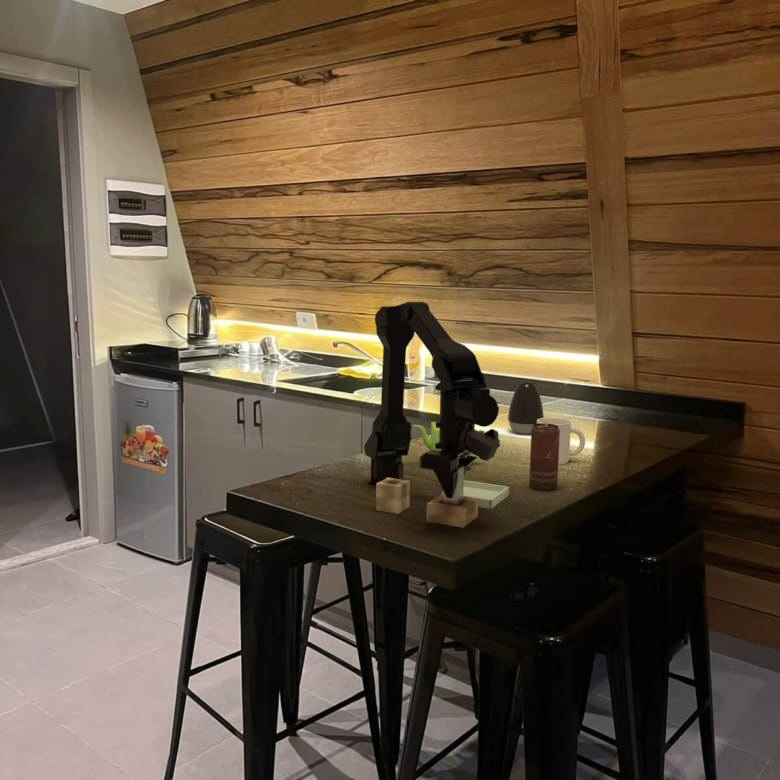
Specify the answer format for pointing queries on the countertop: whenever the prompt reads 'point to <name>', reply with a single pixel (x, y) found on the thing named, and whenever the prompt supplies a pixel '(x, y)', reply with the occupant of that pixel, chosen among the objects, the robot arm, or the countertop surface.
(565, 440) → the mug
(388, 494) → the beech block
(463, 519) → the oak block
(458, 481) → the grey wood bar
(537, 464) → the can
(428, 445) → the kettle
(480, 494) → the tray
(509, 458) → the countertop surface
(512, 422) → the dark tapered diffuser
